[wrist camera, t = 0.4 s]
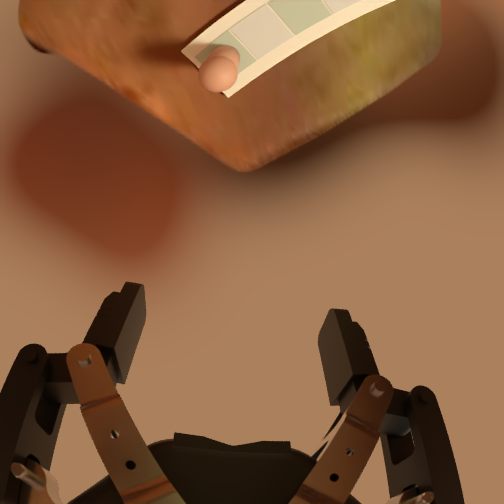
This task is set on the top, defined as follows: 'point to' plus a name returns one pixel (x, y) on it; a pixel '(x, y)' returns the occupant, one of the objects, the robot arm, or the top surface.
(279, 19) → the board
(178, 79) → the top surface
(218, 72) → the pawn
